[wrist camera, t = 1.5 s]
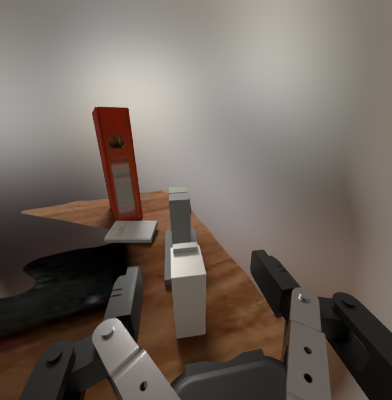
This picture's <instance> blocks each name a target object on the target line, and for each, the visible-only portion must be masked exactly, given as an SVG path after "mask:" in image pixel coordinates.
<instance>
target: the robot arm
mask: <svg viewBox="0 0 392 400" xmlns="http://www.w3.org/2000/svg"><path fill="white" fill-rule="evenodd" d="M250 269H251V274H252V276H253V278H254V280H255V282H256V283H257V285H258V287H259V288H260V290H261V292H262V294H263V295H264V297H265V299H266V300H267V302H268V304H269V306H270V307H271V309H272V311H273V312H274V314H275V316H276V317H277V318H280V317H284V319H285V320H286V321H285V327H284V338H283V348H282V356H281V361H279V360H277V359H275V358H272V357H268V356H264V354H263V351H262V349H258V350H253V351H249V352H244V353H242V354H240V355H238V356H237V357H235V358H233V359H232V360H230V361H228V362H226V363H222V362H212V361H201V362H196V363H191V364H186V365H185V372H184V373H183V374H181V375H180V376H178V377H177V378H176V379H175V380H174V381H173V382H172V383H171V384H169V383H168V381H167V380H166V379H165V377H164V376H163V374H162V373H161V372H160V370H159V369H158V368H157V366H156V365H155V363H154V362H153V361H152V359H151V358H150V356H149V355H148V354H147V352H146V351H145V350H144V349H143V348H141V349H140V348H139V347H138V345H137V341H138V332H139V324H140V315H141V307H142V298H143V280H142V274H141V269H140V266H131V267H128V268H127V272H126V275H124V276H120V277H119V278H118V279H117V280H116V282H115V283H114V287H113V291H112V293H111V297H110V300H109V303H108V306H107V309H106V313H105V316H104V319H103V322H102V323H101V324H100V325H99V326H98V327H97V328H96V329H95V331H94V333H93V334H91V335H90V336H88V337H86V338H84V339H82V340H80V341H78V342H75V343H73V344H72V342H71V341H69V340H60V341H57V342H55V343H54V344H52V345H51V346H49V347H48V348H47V349H46V350H45V351H44V352H43V353H42V354H41V356H40V357H39V359H38V361H37V363H36V365H35V367H34V369H33V371H32V373H31V375H30V377H29V380H28V382H27V384H26V386H25V388H24V390H23V392H22V394H21V396H20V398H19V400H84V396H85V392H86V389H88V388H89V387H91V386H93V385H95V384H96V383H98V382H100V381H102V380H103V379H105V378H107V380H108V382H109V384H110V386H111V388H112V390H113V392H114V394H115V396H116V398H117V400H331V392H330V383H329V382H330V381H329V371H328V362H327V361H328V360H327V350H326V340H325V338H326V339H327V340H328V342H329V343H330V344H331V346H332V347H333V349H334V350H335V352H336V353H337V355H338V356H339V357H340V359H341V360H342V362H343V363H344V364H345V366H346V367H347V369H348V370H349V372H350V373H351V375H352V376H353V377H354V379H355V380H356V382H357V383H358V385H359V386H360V387H361V389H362V390H363V392H364V393H365V394H366V396H367V397H368V399H369V400H392V333H391V332H390V331H389V330H388V329H387V328H386V327H385V326H384V325H383V324H382V323H381V322H380V321H379V320H378V319H377V318H376V317H375V316H374V315H373V314H372V313H371V312H370V311H369V310H368V309H367V308H366V307H365V306H364V305H363V304H361V303H360V302H359V301H358V300H357V299H356V298H354V297H353V296H351V295H349V294H346V293H341V292H338V293H335V294H334V295H333V297H332V299H331V298H323V297H317V296H316V295H315V294H314V293H313V292H311V291H309V290H307V289H305V288H301V287H300V286H299V284H298V283H297V282H296V281H295V280H294V279H293V277H292V276H291V275H290V274H289V273H288V271H286V269H285V268H284V267H283V266H282V264H281V263H280V262H279V261H278V260H277V259H275V258H274V257H273V256H268V255H267V253H266V252H265V251H264V250H255V251H252V256H251V265H250ZM354 335H355V336H356V337H357V338H358V339H357V338H356V337H355V336H354ZM360 342H361V343H362V344H363V345H362V344H361V343H360ZM365 348H366V349H365Z"/></svg>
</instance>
